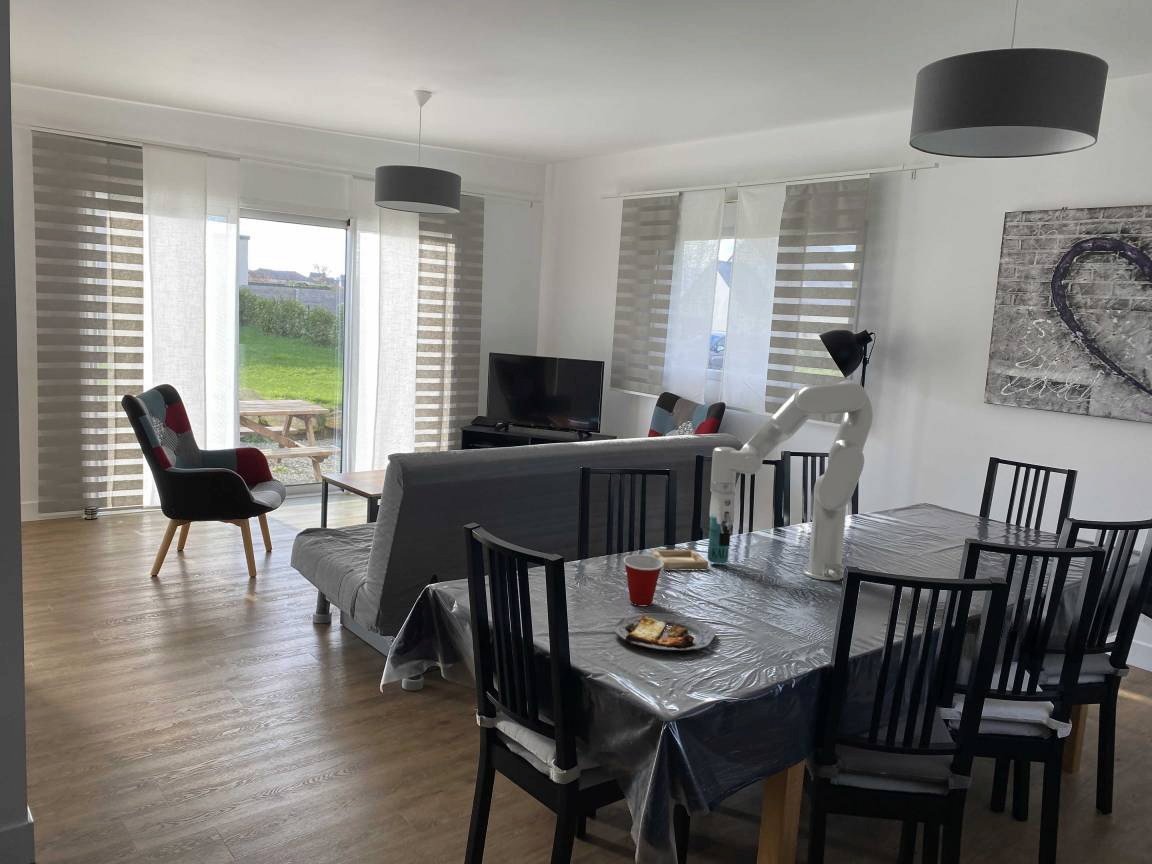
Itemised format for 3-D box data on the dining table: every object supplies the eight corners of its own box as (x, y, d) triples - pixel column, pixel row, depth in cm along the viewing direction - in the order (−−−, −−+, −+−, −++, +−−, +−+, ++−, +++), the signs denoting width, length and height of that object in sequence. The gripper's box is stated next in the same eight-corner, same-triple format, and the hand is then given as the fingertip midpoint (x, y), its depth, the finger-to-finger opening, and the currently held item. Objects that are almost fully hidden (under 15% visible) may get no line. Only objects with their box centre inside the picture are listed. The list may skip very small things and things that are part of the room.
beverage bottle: (713, 560, 283) (717, 499, 280) (732, 565, 279) (736, 502, 276) (702, 564, 278) (706, 502, 275) (721, 569, 274) (725, 505, 271)
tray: (707, 570, 273) (708, 562, 272) (663, 570, 270) (664, 562, 270) (692, 557, 286) (693, 549, 286) (651, 557, 284) (651, 550, 283)
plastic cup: (628, 611, 232) (630, 566, 231) (615, 597, 243) (618, 555, 241) (667, 609, 235) (670, 565, 234) (653, 596, 246) (655, 553, 244)
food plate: (699, 664, 199) (700, 649, 198) (601, 647, 207) (602, 632, 207) (723, 632, 222) (724, 618, 221) (634, 617, 230) (635, 604, 230)
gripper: (744, 492, 268) (740, 549, 270) (724, 481, 284) (720, 534, 287) (721, 492, 266) (717, 549, 268) (701, 481, 283) (698, 534, 285)
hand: (719, 541), depth 278 cm, fingers open, 8 cm apart
